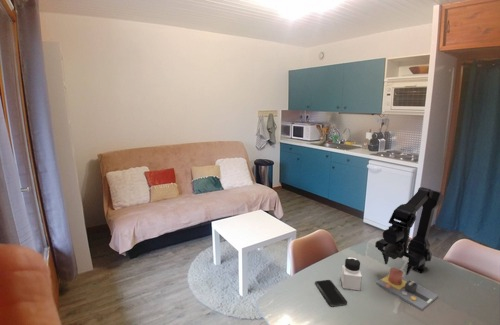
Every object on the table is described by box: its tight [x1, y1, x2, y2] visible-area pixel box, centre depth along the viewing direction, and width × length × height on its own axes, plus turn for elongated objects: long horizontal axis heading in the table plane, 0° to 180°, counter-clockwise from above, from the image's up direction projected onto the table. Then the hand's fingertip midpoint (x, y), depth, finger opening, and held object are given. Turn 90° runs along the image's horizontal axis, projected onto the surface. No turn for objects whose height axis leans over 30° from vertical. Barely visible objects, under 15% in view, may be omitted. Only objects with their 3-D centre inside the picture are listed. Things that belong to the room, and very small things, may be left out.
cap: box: [388, 267, 404, 285], centre depth 118 cm, size 5×5×5 cm
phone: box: [314, 279, 348, 308], centre depth 113 cm, size 8×1×15 cm
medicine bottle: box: [340, 257, 363, 292], centre depth 117 cm, size 7×7×12 cm
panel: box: [375, 274, 439, 312], centre depth 115 cm, size 14×19×2 cm
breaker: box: [405, 280, 418, 293], centre depth 113 cm, size 4×3×4 cm
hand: (396, 269), depth 118 cm, fingers open, 9 cm apart
